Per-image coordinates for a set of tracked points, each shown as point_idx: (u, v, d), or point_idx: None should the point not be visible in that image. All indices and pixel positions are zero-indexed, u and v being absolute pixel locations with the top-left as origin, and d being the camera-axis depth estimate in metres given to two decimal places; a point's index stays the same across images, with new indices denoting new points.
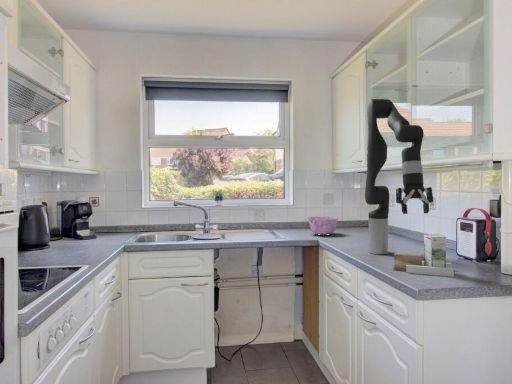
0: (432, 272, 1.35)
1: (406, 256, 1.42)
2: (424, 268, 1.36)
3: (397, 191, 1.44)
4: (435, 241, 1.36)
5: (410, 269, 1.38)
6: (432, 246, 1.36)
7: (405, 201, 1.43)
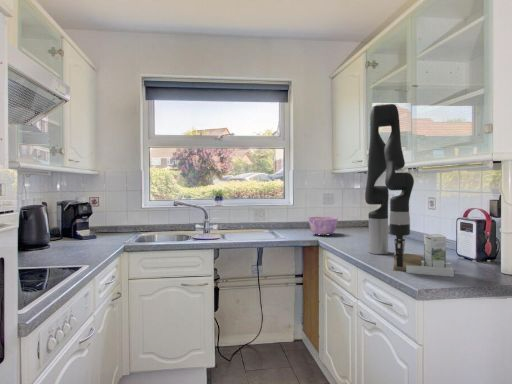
0: (432, 272, 1.35)
1: (406, 256, 1.42)
2: (424, 268, 1.36)
3: (399, 247, 1.39)
4: (435, 241, 1.36)
5: (410, 269, 1.38)
6: (432, 246, 1.36)
7: None
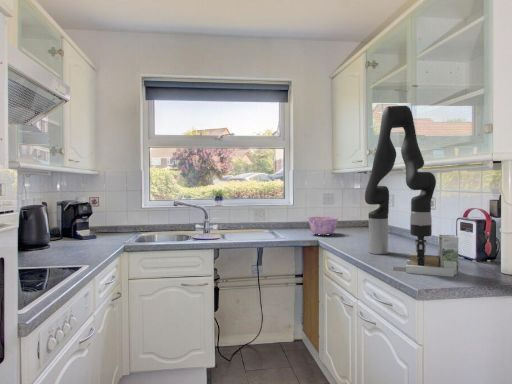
0: (432, 272, 1.35)
1: None
2: (424, 268, 1.36)
3: (421, 248, 1.35)
4: (446, 241, 1.35)
5: (410, 269, 1.38)
6: (443, 246, 1.35)
7: (424, 256, 1.39)
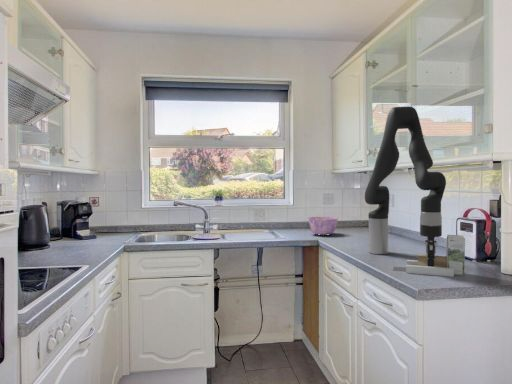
0: (432, 272, 1.35)
1: None
2: (424, 268, 1.36)
3: (431, 249, 1.34)
4: (452, 241, 1.34)
5: (410, 269, 1.38)
6: (449, 246, 1.35)
7: None
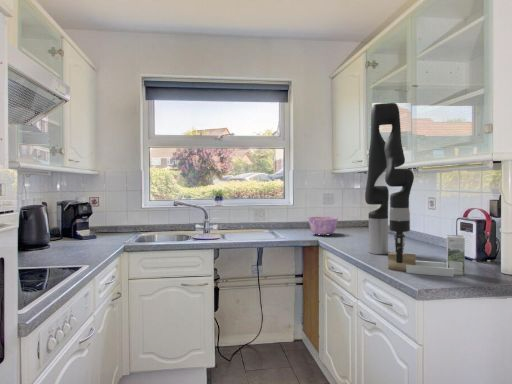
0: (432, 272, 1.35)
1: None
2: (424, 268, 1.36)
3: (399, 241, 1.38)
4: (452, 242, 1.34)
5: (410, 269, 1.38)
6: (448, 246, 1.35)
7: None
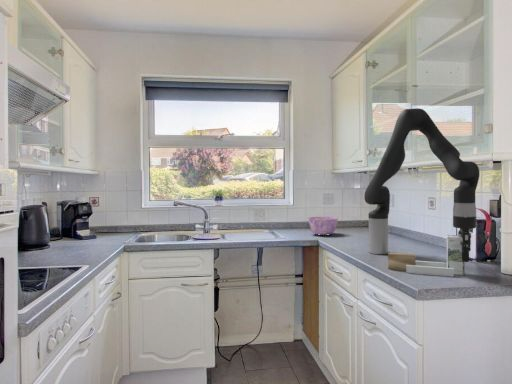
0: (432, 272, 1.35)
1: (400, 256, 1.43)
2: (424, 268, 1.36)
3: (467, 239, 1.29)
4: (452, 241, 1.34)
5: (410, 269, 1.38)
6: (448, 246, 1.35)
7: None
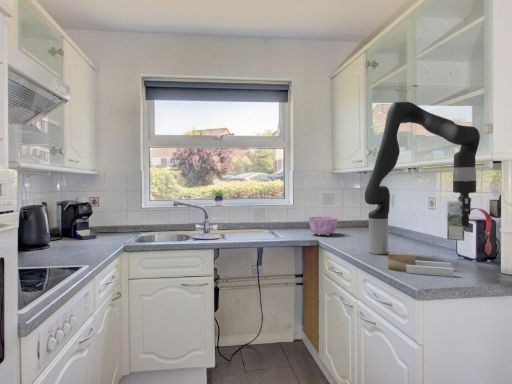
0: (432, 272, 1.35)
1: (400, 256, 1.43)
2: (424, 268, 1.36)
3: (466, 202, 1.29)
4: (451, 206, 1.34)
5: (410, 269, 1.38)
6: (448, 211, 1.35)
7: None
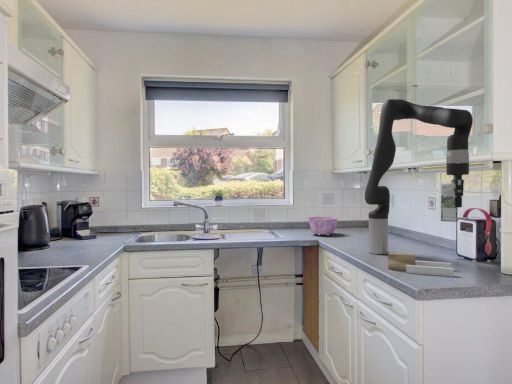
0: (432, 272, 1.35)
1: (400, 256, 1.43)
2: (424, 268, 1.36)
3: (459, 183, 1.31)
4: (445, 188, 1.37)
5: (410, 269, 1.38)
6: (442, 193, 1.37)
7: None
